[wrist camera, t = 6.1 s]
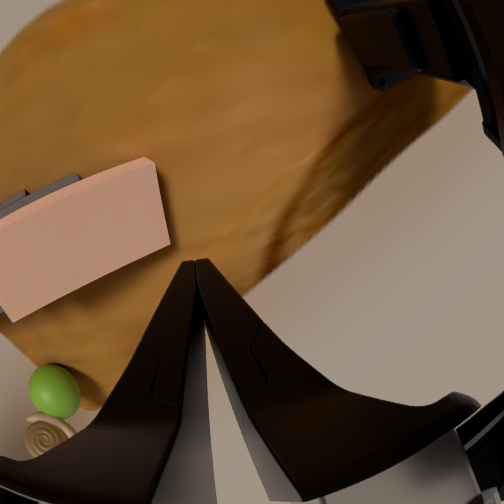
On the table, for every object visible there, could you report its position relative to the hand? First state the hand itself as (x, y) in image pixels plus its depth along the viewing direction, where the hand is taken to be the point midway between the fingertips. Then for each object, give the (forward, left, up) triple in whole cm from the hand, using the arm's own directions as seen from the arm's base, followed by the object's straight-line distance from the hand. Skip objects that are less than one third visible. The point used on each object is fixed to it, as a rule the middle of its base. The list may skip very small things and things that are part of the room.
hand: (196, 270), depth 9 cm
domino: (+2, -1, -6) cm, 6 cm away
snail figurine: (+22, +5, -7) cm, 23 cm away
